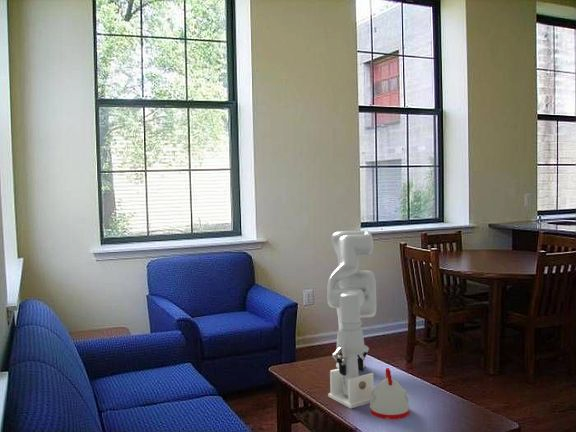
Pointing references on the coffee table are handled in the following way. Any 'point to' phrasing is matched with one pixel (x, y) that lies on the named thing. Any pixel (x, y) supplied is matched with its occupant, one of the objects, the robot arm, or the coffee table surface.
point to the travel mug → (349, 372)
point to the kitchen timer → (389, 399)
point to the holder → (351, 389)
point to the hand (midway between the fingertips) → (351, 372)
